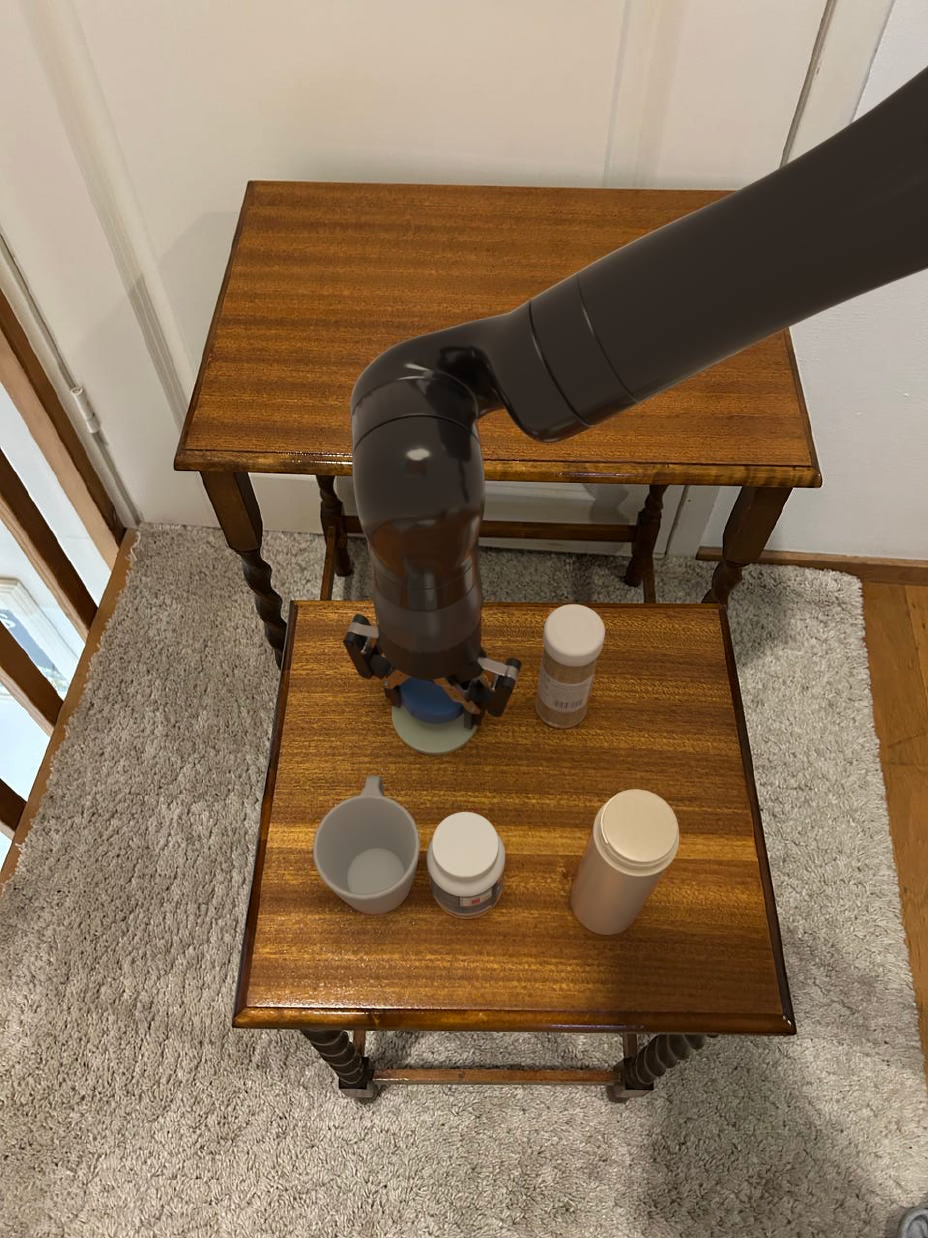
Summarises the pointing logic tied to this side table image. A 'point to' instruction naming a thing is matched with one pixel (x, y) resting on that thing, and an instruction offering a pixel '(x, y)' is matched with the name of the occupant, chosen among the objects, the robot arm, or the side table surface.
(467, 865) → the pill bottle
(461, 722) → the coaster
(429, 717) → the lid
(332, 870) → the cup
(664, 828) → the beige plastic cylinder
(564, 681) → the sprinkles bottle
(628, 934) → the side table surface
